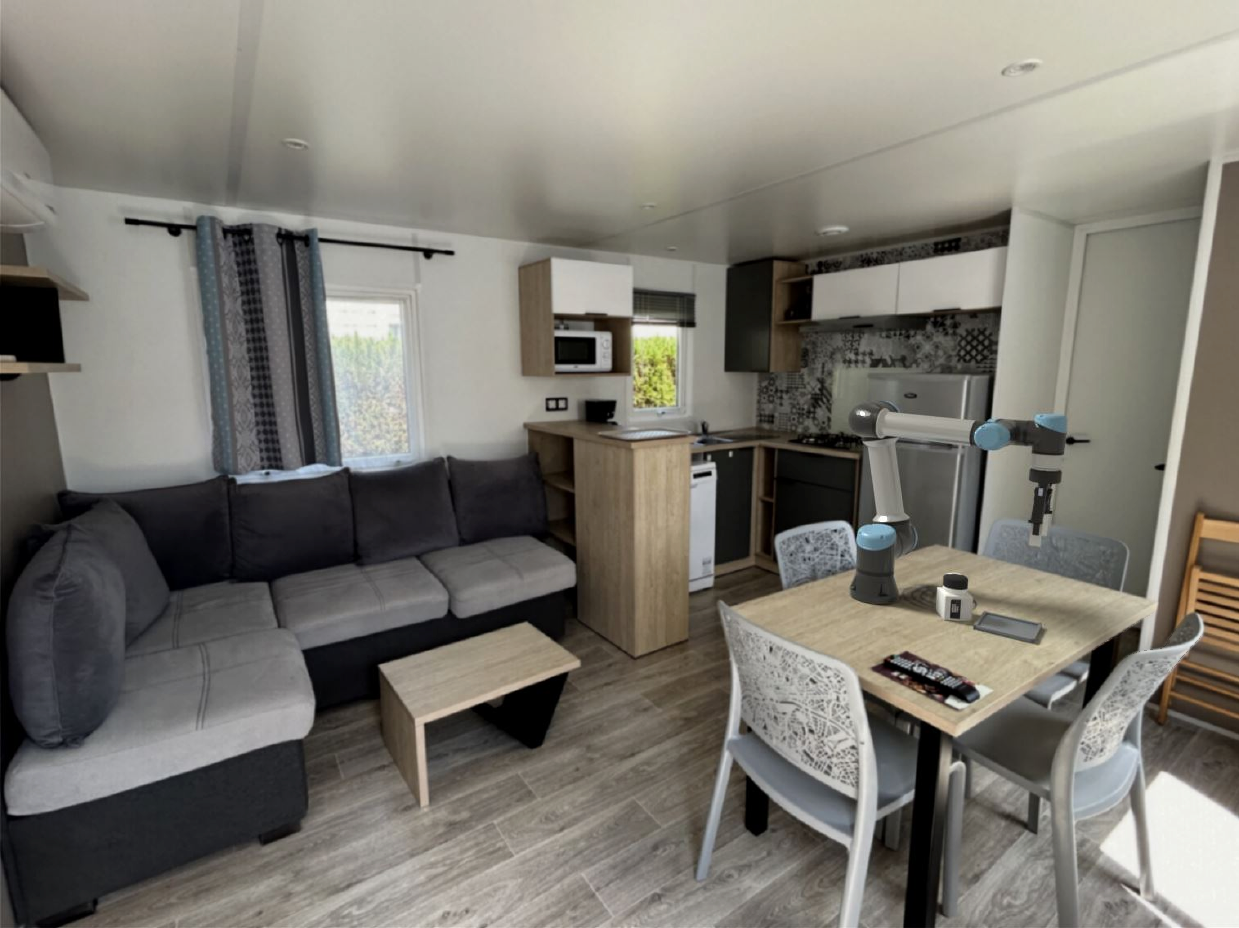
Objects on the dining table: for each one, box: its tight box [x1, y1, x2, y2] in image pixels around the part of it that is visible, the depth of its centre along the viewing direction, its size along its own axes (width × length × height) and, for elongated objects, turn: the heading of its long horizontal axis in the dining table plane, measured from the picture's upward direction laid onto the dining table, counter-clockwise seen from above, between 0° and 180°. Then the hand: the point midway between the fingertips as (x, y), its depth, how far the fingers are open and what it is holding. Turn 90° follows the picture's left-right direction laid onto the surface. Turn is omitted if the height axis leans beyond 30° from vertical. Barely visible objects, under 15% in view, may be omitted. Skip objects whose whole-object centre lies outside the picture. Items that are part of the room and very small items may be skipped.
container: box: [935, 572, 974, 622], centre depth 177 cm, size 8×8×13 cm
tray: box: [972, 610, 1043, 645], centre depth 169 cm, size 14×14×1 cm
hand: (1037, 540), depth 170 cm, fingers open, 13 cm apart
